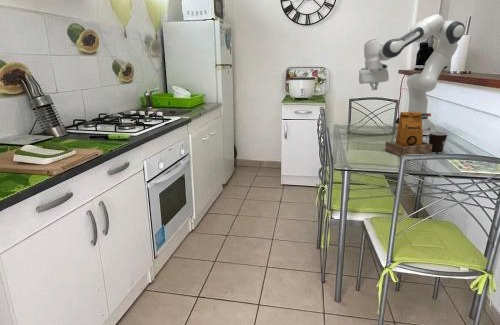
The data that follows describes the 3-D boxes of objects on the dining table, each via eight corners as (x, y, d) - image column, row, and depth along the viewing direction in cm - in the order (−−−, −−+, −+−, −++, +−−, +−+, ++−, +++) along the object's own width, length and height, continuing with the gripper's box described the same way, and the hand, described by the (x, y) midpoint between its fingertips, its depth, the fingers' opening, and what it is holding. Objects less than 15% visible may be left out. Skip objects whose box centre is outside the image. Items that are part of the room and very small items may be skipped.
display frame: (411, 147, 188) (412, 138, 187) (431, 153, 176) (432, 144, 174) (384, 150, 183) (385, 141, 182) (403, 157, 170) (404, 147, 169)
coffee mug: (435, 154, 174) (438, 135, 171) (422, 150, 182) (425, 132, 179) (452, 152, 177) (455, 134, 174) (439, 148, 185) (442, 130, 182)
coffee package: (422, 155, 174) (428, 113, 167) (397, 154, 176) (401, 113, 170) (417, 150, 183) (422, 110, 176) (393, 149, 185) (397, 110, 179)
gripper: (362, 67, 195) (364, 90, 197) (389, 65, 202) (391, 88, 204) (355, 69, 201) (357, 92, 203) (382, 67, 208) (383, 89, 210)
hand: (374, 90), depth 203 cm, fingers closed
